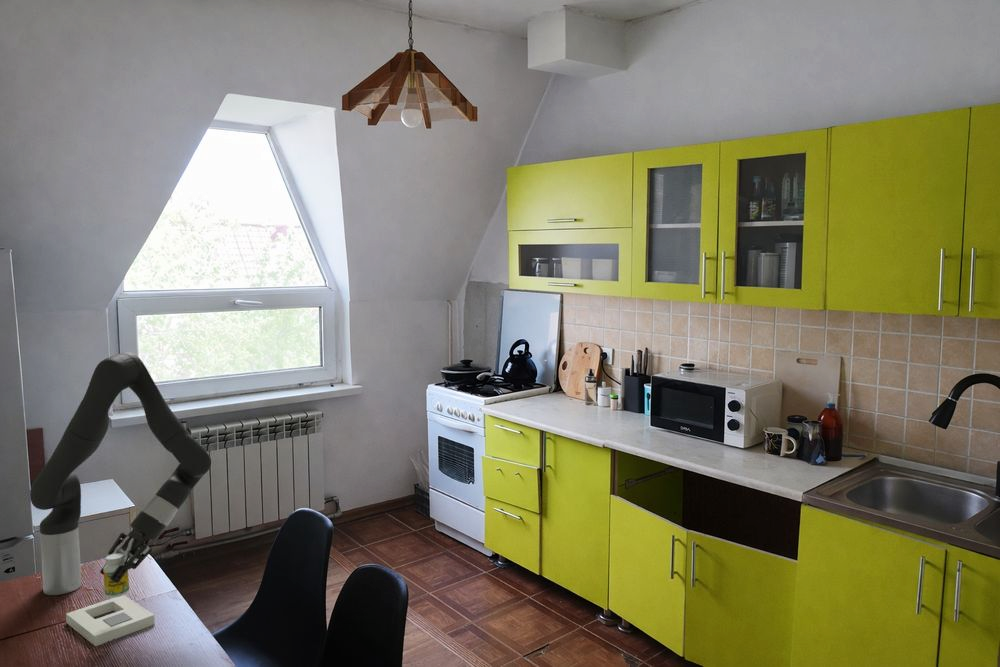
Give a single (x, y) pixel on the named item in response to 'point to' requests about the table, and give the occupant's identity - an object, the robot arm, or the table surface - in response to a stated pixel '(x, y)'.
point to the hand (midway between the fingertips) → (108, 577)
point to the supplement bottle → (112, 564)
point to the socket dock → (109, 620)
